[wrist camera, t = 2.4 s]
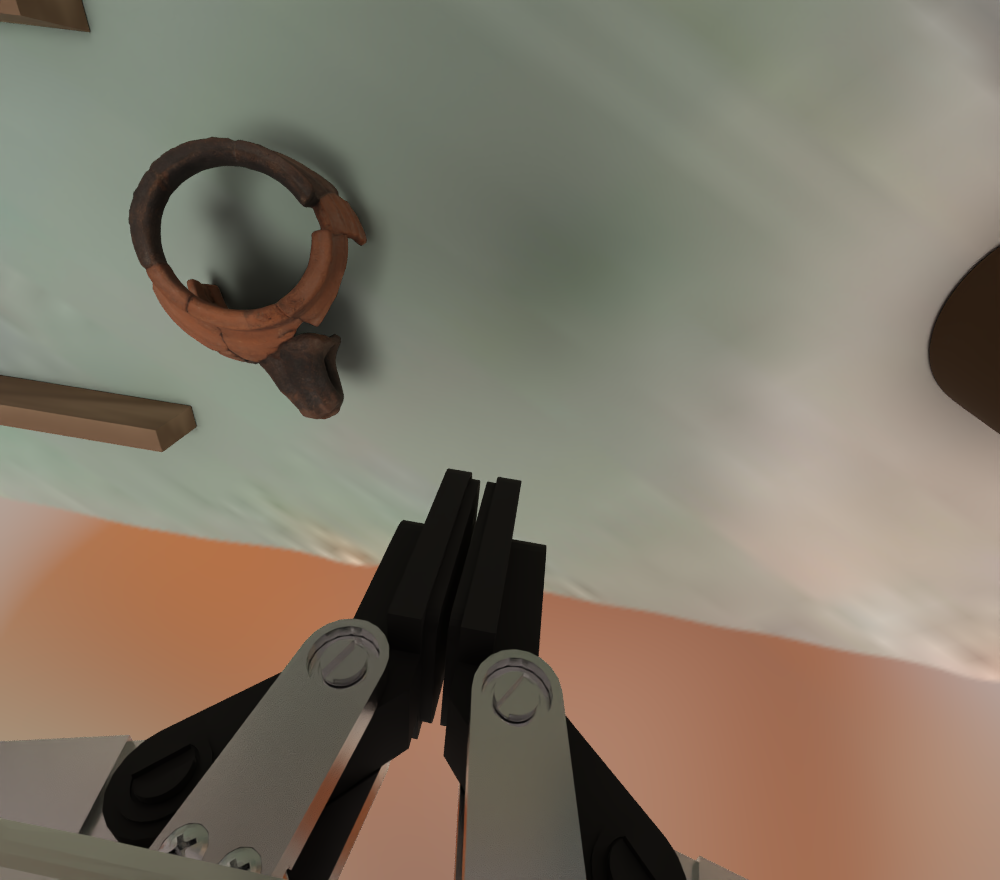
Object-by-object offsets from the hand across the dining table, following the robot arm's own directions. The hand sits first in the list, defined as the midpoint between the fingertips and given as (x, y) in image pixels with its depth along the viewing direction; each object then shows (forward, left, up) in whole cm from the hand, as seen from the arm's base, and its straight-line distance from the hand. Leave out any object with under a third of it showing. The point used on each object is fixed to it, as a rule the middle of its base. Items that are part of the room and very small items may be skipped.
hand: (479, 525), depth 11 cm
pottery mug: (0, -12, -16) cm, 20 cm away
